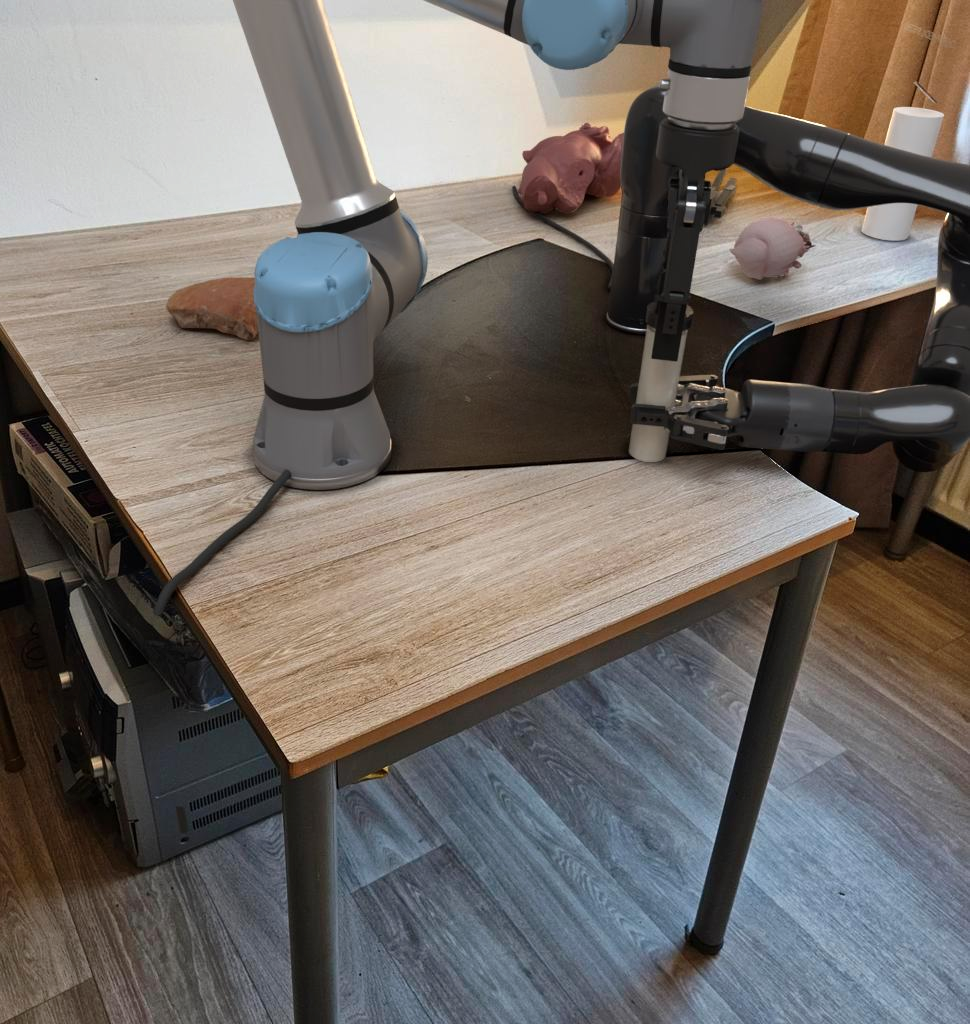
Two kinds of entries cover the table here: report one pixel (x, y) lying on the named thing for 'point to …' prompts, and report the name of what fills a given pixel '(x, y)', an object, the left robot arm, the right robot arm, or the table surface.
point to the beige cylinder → (655, 399)
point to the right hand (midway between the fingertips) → (630, 403)
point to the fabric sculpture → (571, 169)
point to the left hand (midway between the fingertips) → (664, 343)
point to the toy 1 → (719, 196)
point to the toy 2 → (770, 247)
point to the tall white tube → (913, 135)
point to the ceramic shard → (217, 306)
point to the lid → (653, 314)
